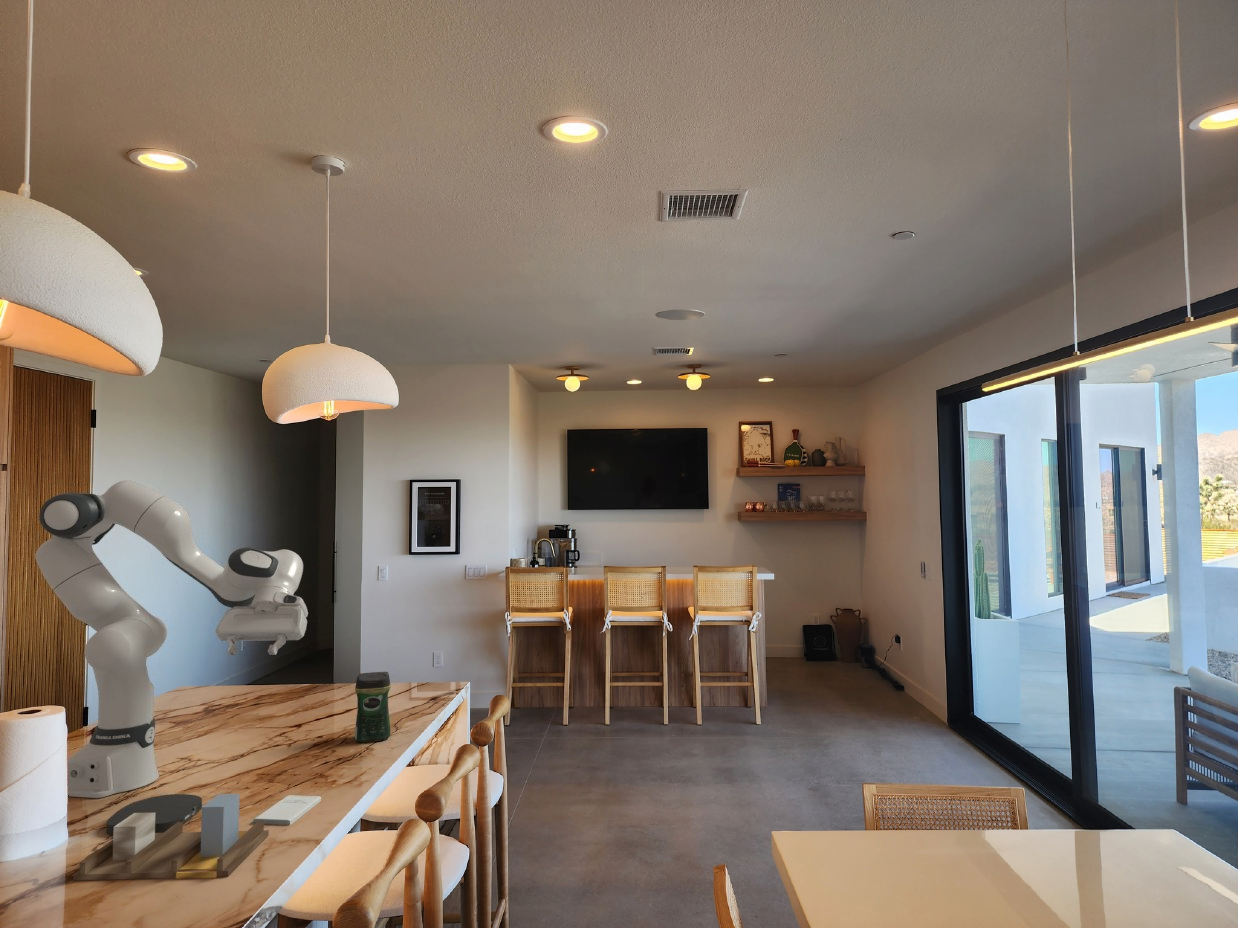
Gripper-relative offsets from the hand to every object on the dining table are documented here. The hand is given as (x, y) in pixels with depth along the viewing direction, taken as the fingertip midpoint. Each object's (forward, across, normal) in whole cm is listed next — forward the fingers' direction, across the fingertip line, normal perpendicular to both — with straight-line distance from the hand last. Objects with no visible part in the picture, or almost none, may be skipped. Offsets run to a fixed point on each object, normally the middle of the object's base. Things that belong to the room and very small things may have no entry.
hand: (251, 653), depth 170 cm
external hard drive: (+32, +15, +14) cm, 38 cm away
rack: (+45, +2, -1) cm, 45 cm away
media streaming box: (+33, -12, +12) cm, 37 cm away
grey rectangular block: (+44, +10, -2) cm, 45 cm away
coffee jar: (-3, +18, +48) cm, 51 cm away
